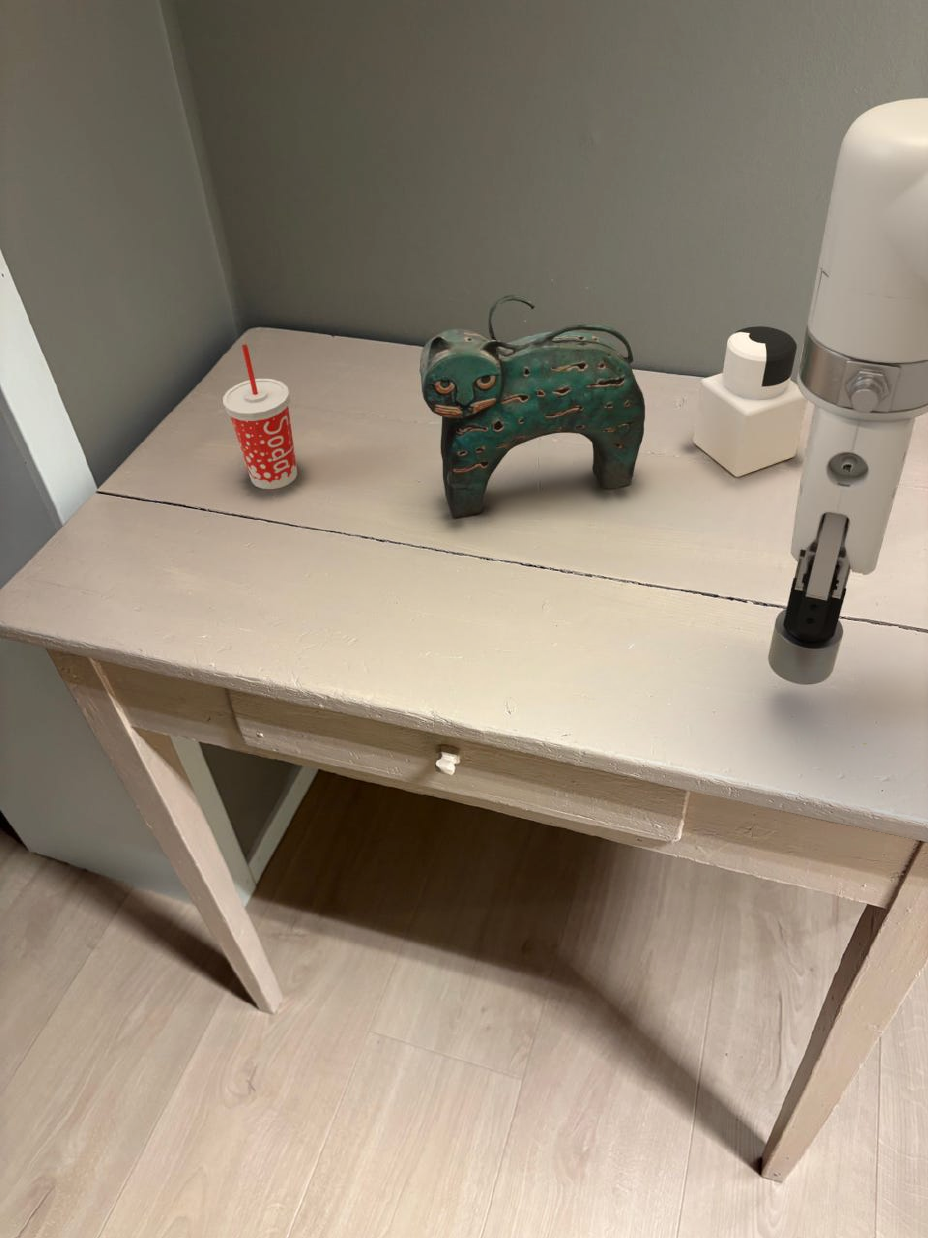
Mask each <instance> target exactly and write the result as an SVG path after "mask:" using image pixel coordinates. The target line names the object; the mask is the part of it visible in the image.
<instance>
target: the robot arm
mask: <svg viewBox="0 0 928 1238" xmlns="http://www.w3.org/2000/svg"><path fill="white" fill-rule="evenodd" d="M835 167H836V168H835V173H834V178H833V183H832V189H831V194H830V199H829V205H828V211H827V215H826V221H825V226H824V231H823V236H822V237H823V238H822V241H821V242H822V243H821V247H820V253H819V258H818V262H817V263H818V264H817V270H816V276H815V279H814V280H815V281H814V286H813V293H812V298H811V302H810V309H809V313H808V319H807V322H806V328H805V333H804V338H803V343H802V350H801V354H800V360H799V365H798V371H797V376H796V384H797V386H798V387H799V390H800V392H801V393H802V394H803V396H804V397H805V398H807V399H808V402H810V403H812V404H813V409H812V414H811V418H810V419H811V420H810V424H809V430H808V435H807V441H806V446H805V450H804V451H805V452H804V455H803V456H804V457H803V461H802V467H801V473H800V480H799V486H798V491H797V492H798V493H797V499H796V506H795V512H794V520H793V521H794V522H793V529H792V530H793V531H792V537H791V543H790V544H791V546H790V554H791V557H792V558H793V559H794V560H795V561H796V562H797V563H798V562H799V559H800V558H801V563H800V568H799V572H798V577H797V578H795V577H793V579H792V583H791V587H790V591H789V596H788V600H787V605H786V608H787V609H786V608H785V609H786V614H785V618H784V623H783V626H784V627H785V628H786V629H788V630H792V631H797V632H801V633H806V634H810V635H815V636H819V637H824V638H832V637H833V636H834V634H835V630H836V627H837V623H838V619H839V620H840V616H841V612H842V609H843V604H844V602H845V597H846V593H847V587H846V588H843V586H844V582H845V579H846V575H847V571H848V567H849V564H850V567H851V570H850V571H851V572H852V573H857V574H862V575H863V576H868V575H870V574H872V573H873V572H874V571H875V570H876V568H877V564H878V560H879V556H880V553H881V549H882V546H883V541H884V538H885V534H886V530H887V527H888V523H889V520H890V516H891V512H892V509H893V506H894V502H895V500H896V499H895V498H896V496H897V491H898V488H899V485H900V481H901V477H902V474H903V470H904V467H905V463H906V459H907V456H908V451H909V448H910V443H911V439H912V435H913V431H914V426H915V421H916V418H918V417H920V416H923V415H925V414H927V413H928V97H921V98H920V97H919V98H907V99H906V98H905V99H899V100H895V101H891V102H887V103H882V104H879V105H876V106H873V107H872V108H869V109H868V110H867V111H865V112H863V113H861V115H860V116H858V117H857V118H856V119H854V121H853V122H852V123H851V124H850V126H849V128H848V130H847V132H846V133H845V134H844V137H843V139H842V142H841V145H840V148H839V153H838V157H837V161H836V166H835ZM816 542H817V543H816ZM811 559H812V560H814V563H813V567H812V570H811V569H809V564H810V560H811ZM836 564H837V565H839V569H838V573H837V575H836V574H834V570H835V566H836ZM808 569H809V570H808ZM836 576H837V577H836Z"/></svg>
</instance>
